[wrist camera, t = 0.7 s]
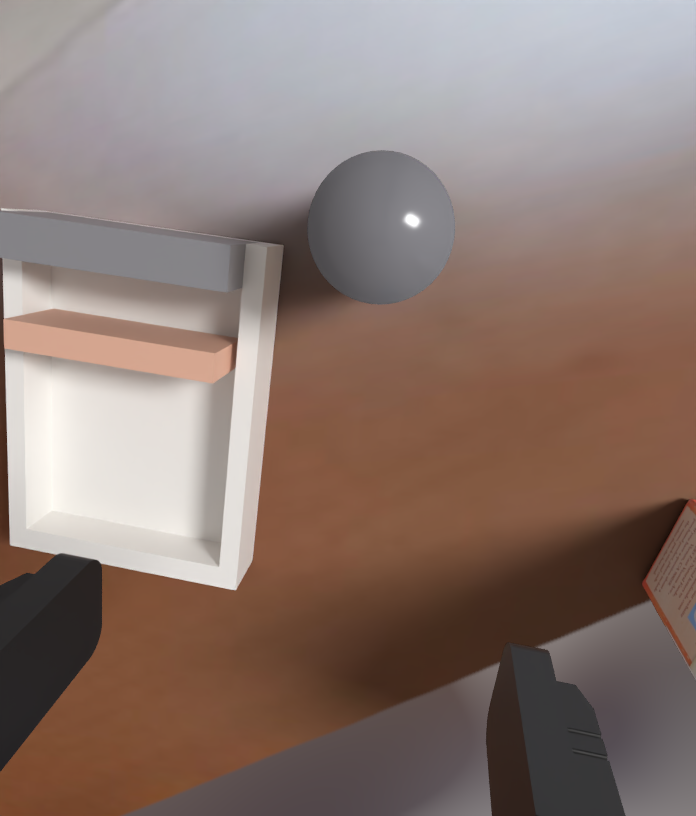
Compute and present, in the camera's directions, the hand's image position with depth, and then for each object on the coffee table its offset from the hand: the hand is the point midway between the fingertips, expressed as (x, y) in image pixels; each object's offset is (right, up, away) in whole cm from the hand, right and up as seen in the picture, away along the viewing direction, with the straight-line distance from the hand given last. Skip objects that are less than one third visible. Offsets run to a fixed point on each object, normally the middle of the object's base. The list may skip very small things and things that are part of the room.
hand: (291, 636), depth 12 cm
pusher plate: (-9, +8, +21) cm, 24 cm away
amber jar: (+4, +13, +19) cm, 23 cm away
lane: (-10, +5, +23) cm, 25 cm away
